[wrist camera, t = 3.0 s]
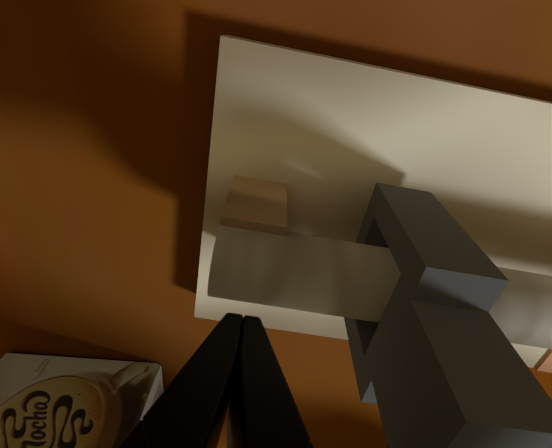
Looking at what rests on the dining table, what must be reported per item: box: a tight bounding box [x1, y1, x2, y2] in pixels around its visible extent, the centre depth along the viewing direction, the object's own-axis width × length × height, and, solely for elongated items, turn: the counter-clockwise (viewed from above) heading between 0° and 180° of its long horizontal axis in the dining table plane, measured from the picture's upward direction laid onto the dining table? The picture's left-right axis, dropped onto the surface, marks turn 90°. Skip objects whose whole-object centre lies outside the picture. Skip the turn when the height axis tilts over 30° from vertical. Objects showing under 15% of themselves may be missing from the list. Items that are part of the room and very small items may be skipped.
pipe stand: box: [194, 35, 552, 373], centre depth 13 cm, size 12×26×6 cm, turn 80°
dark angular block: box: [344, 182, 552, 448], centre depth 10 cm, size 5×2×8 cm, turn 170°
